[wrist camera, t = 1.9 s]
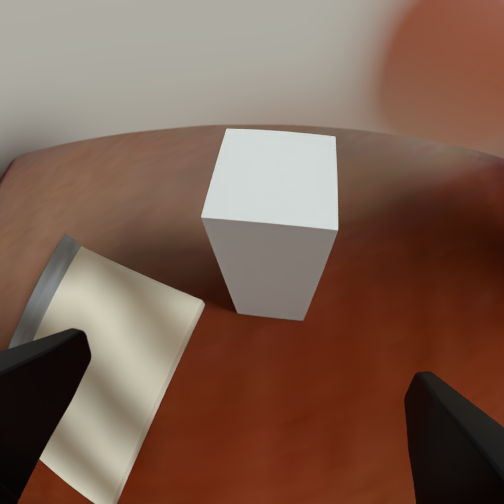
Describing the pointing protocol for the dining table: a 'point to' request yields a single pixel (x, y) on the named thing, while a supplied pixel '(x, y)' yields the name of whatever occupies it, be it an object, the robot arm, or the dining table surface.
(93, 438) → the shelf board
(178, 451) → the dining table surface
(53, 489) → the dining table surface
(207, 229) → the grey carton
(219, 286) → the dining table surface
